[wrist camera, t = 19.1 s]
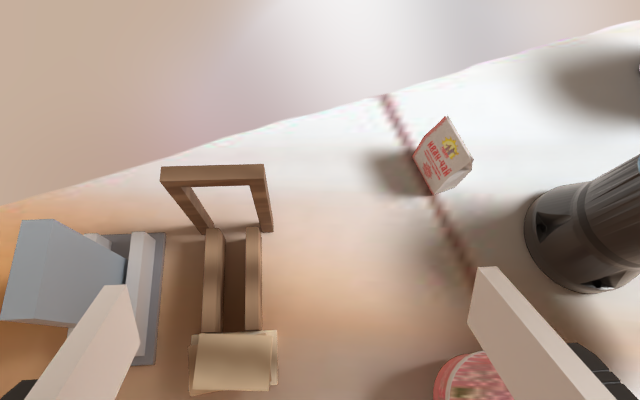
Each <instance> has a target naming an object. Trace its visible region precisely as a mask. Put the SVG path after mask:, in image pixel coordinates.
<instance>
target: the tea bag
mask: <svg viewBox="0 0 640 400" xmlns="http://www.w3.org/2000/svg"><path fill="white" fill-rule="evenodd" d="M412 158H413V159H414V161H415V163H416V165H417V167H418V169H419V171H420V173H421V174H422V176H423V178H424V180H425V182H426V184H427V186H428V188H429V189H430V191H431V193H432V195H436V194H438V193H441V192H444V191H447V190H449V189H452V188H455V187H456V186H457V185H458V184H459V183H460V181H461V180H462V179H463V178H464V177H465V176H466V175H467V174H468V173H469V172H470V171H471V170H472V162H473V160H474V159H473V157H472V156H471V154H470V152H469V151H468V149H467V147H466V146H465V144H464V142H463V141H462V139H461V137H460V136H459V134H458V132H457V130H456V129H455V127H454V125H453V124H452V122H451V120H450V119H449V117H448V115H447V118H446V117H444V118H443V119H442V120H441V121H440V122H439V123H438V124H437V125H436V126H435V127H434V128H433V129H432V130H430V131H429V132H428V133H427V134H426V135H425V136H424V137H423V139H422V141H421V142H420V144H419V146H418V147H417V149H416V151H415V152H414V154H413V156H412Z"/></svg>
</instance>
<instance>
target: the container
mask: <svg viewBox="0 0 640 400" xmlns="http://www.w3.org/2000/svg"><path fill="white" fill-rule="evenodd" d="M433 400H514V398H513V397H512V395H511V393H510V392H509V390H508V389H507V387H506V385H505V384H504V382H503V381H502V379H501V377H500V376H499V374H498V373H497V371H496V369H495V368H494V366H493V365H492V363H491V361H490V360H489V358H488V357H487V355H486V353H485V352H484V351H478V352H475V353H471V354H463V355H460V356H456V357H454V358H452V359H450V360H449V361H448V362H447V363H446V364H444V365H443V367H442V368H441V369H440V371H439V372H438V375H437V377H436V379H435V384H434V388H433Z"/></svg>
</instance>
